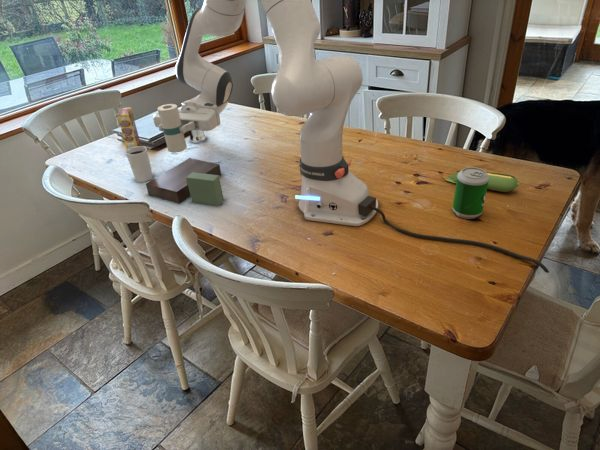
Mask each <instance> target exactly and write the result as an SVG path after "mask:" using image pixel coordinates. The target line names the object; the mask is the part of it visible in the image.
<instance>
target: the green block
mask: <svg viewBox="0 0 600 450" xmlns="http://www.w3.org/2000/svg"><path fill="white" fill-rule="evenodd" d="M186 179H187V183H188V188H189V192H190V200H191V203H193V204H202V205H208V206H216V207H219V206H220V205H221V204H222V203H223V202H224V200H225V199H224V194H223V193H224V192H223V188H222V184H221V176H220V177H219V175H211V174H203V173H194V172H192V173H191V174H190V175H189V176H188V177H186Z"/></svg>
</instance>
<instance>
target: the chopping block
mask: <svg viewBox="0 0 600 450" xmlns="http://www.w3.org/2000/svg"><path fill="white" fill-rule="evenodd" d="M192 172H194V173H203V174H211V175H219V177H220V178H221V176H222V171H221V165H220V163H216V162H211V161H205V160H201V159H196V158H191V157H189V158H187V159H185V160H183V161H182V162H180V163H179V164H177V165H175V166H174V167H171V168H170V169H168V170H167V171H165V172H163V173H161V174H160V175H158V176H156V177H154V178H152V179H151V180H148V181H147V182H145V187H146V190H147V194H148V196H150V197H154V198H158V199H161V200H165V201H169V202H172V203H175V204H176V203H177V204H181V203H183V202H184V201H186V200H187V199H189V198H191V196H190V192H189V188H188V183H187V179H186V177H188V176H189V175H190V174H191V173H192Z"/></svg>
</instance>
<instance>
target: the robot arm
mask: <svg viewBox="0 0 600 450" xmlns="http://www.w3.org/2000/svg"><path fill="white" fill-rule="evenodd" d="M259 1H260V3H261V6H262V10H263V11H264V14H265V16H266V19H267V22H268V24H269V27H270V30H271V33H272V35H273V39H274V41H275V44H276V48H277V52H278V54H277V55H278V66H277V67H278V68H277V73H276V75H275V76H274V79H273V81H272V84H271V88H270V93H271V99H272V102H273V105H274V106H275V108H276V109H277V111H279V113H281V114H282V115H284V116H286V117H299V116H304V115H305V116H306V115H308V117H307V118H306V120H305V121H304V123H303V125H302V126H301V128H300V130H299V136H298V137H299V151H300V158H299V173H300V176H301V186H300V187H301V188H300V195H297V194H295V195H294V198H295V199H296V200H298V203H297V204H298V209H299V210H300V211H301V212H302V213H303V217H304V219H305V220H306V221H313V222H320V223H327V224H336V225H341V226H342V225H343V226H351V227H361V226H363V225H365V224H366V223H369V221H371V220H372V219H373V218H374V217H375V215H376V214H377V213H379V215H380V216H381V218H382V222H384V223H385V224H386V225H387V226H389V227H391V228H392V229H394V230H395V231H397V232H399V233H402V234H405V235H409V236H412V237H415V238H416V237H417V238H421V239H428V240H437V241H444V242H451V243H459V244H460V243H461V244H468V245H469V244H470V245H476V246H481V247H484V248H488V249H491V250H495V251H498V252H501V253H504V254H506V255H508V256H512V257H514V258H517V259H519V260H524V261H528V262H531V263H533V264H536V265H537V266H539V267H540V268H541V269H542V270H543V272H545V273H547V274H549V273H550V271H549V269H548V268H547V267H546V265H544V264H543V263H542V262H540V261H539V260H538V259H535V258H532V257H530V256H525V255H521V254H518V253H516V252H513V251H510V250H507V249H505V248H503V247H499V246H497V245H492V244H489V243H485V242H480V241H476V240H468V239H460V238H452V237H443V236H437V235H426V234H420V233H416V232H413V231H409V230H405V229H402V228H399V227H397V226H394V225H393V224H392V223H390V222H389V220H388V219H386V215H385V213H384V212H383V211H382V210H381V209H379V201H378V199H377V197H375V196H372V195H371V193H370V188H369V186H368V185H367V184H366V183H365V182H364V181H363V180H362V179H360V178H359V177H357V175H355V174H354V173H353V172H352V171H351V170H349V167H350V166H351V165H352V160H351V159H349V161H348V162H347V161H346V159H345V157H344V155H343V133H344V127H345V122H346V118H347V115H348V111H349V110H350V109H349V108H350V106H351V104H352V101H353V99H354V98H355V96H356V95H357V93H358V92H359V91H360V89H361V87H362V85H363V78H364V76H363V71H362V67H361V65H360V63H359V62H358V60H356V59H355V58H353V57H352V56H350V55H349V56H348V55H332V56H329V57H326V58H322V59H318V60H317V59H316V56H315V49H314V48H315V47H314V45H315V43H316V41H317V40H318V38H319V37H320V33H321V23H320V20H319V18H318V16H317V13H316V10H315V8H314V5H313V2H312V0H259ZM245 9H246V0H203V4H202V7H198V8H196V9H195V10H194V11H193V12H192V14H191V16H190V18H189V21H188V23H187V24H188V25H187V28H186V30H185V31H186V32H185V35H184V38H183V43H182V46H181V51H180V54H179V56H178V58H177V61H176V64H175V67H174V71H175V75H176V78H177V79H178V82H179V83H181V84H184V85H186V86H188V87H191V88H193V89H195V90H197V91H199V92H200V93H198V95H197V96H194V97H192V98H190V99H188V100H189V101H187V100H186V101H187V102H185V103H184V104H183V105H182V104H181V107H180V109H178V112H179V116H180V120H181V124H182V125H181V126H180V127H179V132H180V133H184V134H185V133H187V132H189V131H190V130H201V131H203V132H210V131H213V130H214V129H216V128H217V127H218V126H220V125H221V115H220V114H222V112H223V111H224V110H225V109H226V108H227V106H228V104H229V99H231V98H230V97H231V95H232V92H233V89H234V88H233V87H234V84H233V83H234V82H233V79H232V76H231V74H230V72H229V71H227V70H226V69H224V68H222V67H220V66H218V65H217V64H214V63H213V62H210V61H208V60H207V59H204V58H203V57H202V56H201V55H200V52H199V51H200V48H201V44H202V41H203V37H204V36H209V37H210V36H212V37H216V38H217V37H218V38H219V37H220V38H221V37H227V36H230V35H232V34H234V33H235V32H237V31H238V29H240V27H241V25H242V22H243V18H244V15H245ZM152 120H153V124H154V126H155V128H158V130H159V131H160V132H163V129H162V125H161V121H160V117H159V113H158V112H157V113H155V114H153V116H152ZM517 390H518V391H520V392H521V391H522V390H521V389H520V388H518V389H517Z"/></svg>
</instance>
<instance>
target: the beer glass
mask: <svg viewBox="0 0 600 450" xmlns="http://www.w3.org/2000/svg"><path fill="white" fill-rule="evenodd" d="M189 100H190V99H187V100H184V101H182V102H181V106H182V105H183V104H184V103H185V102H187V101H189ZM188 132H189V141H190V142H191V143H193V144H198V143H203V142H204V141H206V140H207V138H206V135H205V131H201V130H190V131H188Z"/></svg>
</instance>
